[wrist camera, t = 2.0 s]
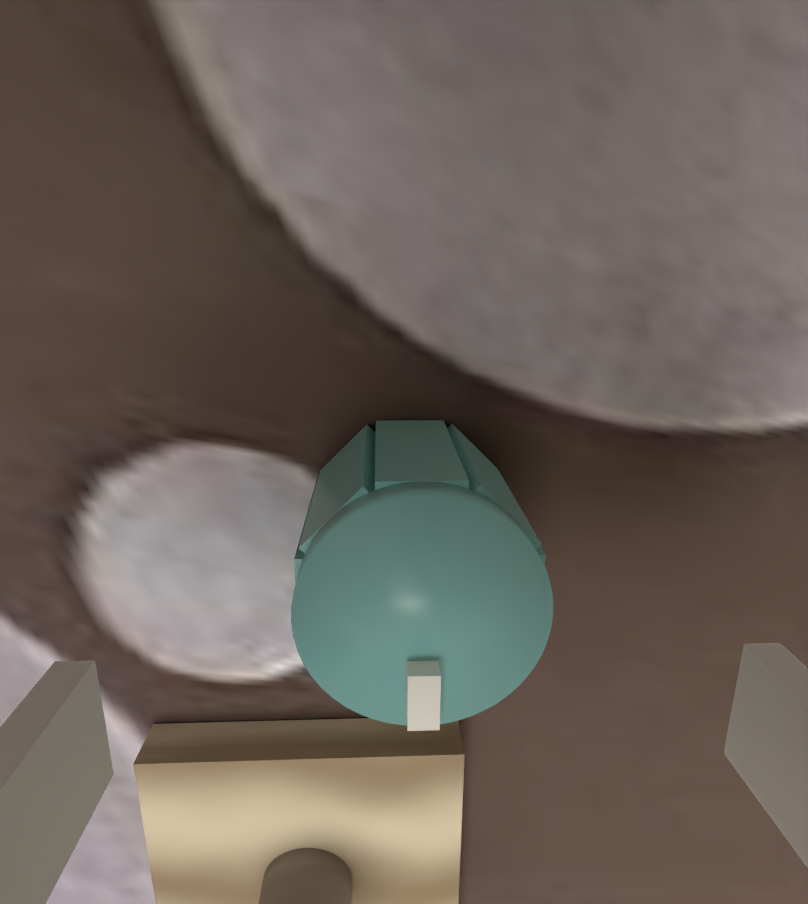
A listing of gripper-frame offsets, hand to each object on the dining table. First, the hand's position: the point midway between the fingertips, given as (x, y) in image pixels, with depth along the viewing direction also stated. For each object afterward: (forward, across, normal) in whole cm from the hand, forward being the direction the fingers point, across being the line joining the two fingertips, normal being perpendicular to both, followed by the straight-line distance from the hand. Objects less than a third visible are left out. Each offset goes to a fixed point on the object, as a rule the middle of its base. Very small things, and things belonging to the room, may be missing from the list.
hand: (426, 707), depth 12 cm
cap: (+10, 0, +1) cm, 10 cm away
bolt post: (+10, -4, -14) cm, 18 cm away
